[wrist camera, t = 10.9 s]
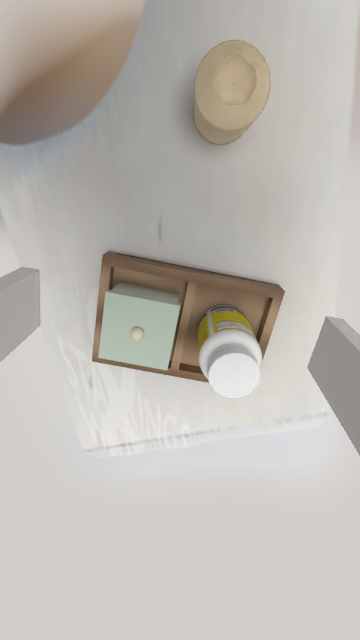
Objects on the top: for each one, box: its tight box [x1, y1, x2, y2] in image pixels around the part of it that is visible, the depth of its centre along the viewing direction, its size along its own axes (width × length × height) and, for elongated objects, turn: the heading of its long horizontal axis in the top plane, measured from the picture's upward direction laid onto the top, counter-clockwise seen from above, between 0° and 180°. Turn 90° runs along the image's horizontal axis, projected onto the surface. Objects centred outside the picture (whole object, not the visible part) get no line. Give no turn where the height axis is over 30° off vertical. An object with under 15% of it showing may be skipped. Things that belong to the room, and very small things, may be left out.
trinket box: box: [98, 282, 181, 370], centre depth 36 cm, size 8×8×6 cm
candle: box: [194, 40, 270, 144], centre depth 27 cm, size 6×6×10 cm
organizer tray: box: [92, 252, 285, 382], centre depth 39 cm, size 13×20×2 cm, turn 79°
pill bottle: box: [197, 305, 262, 398], centre depth 34 cm, size 6×6×11 cm
